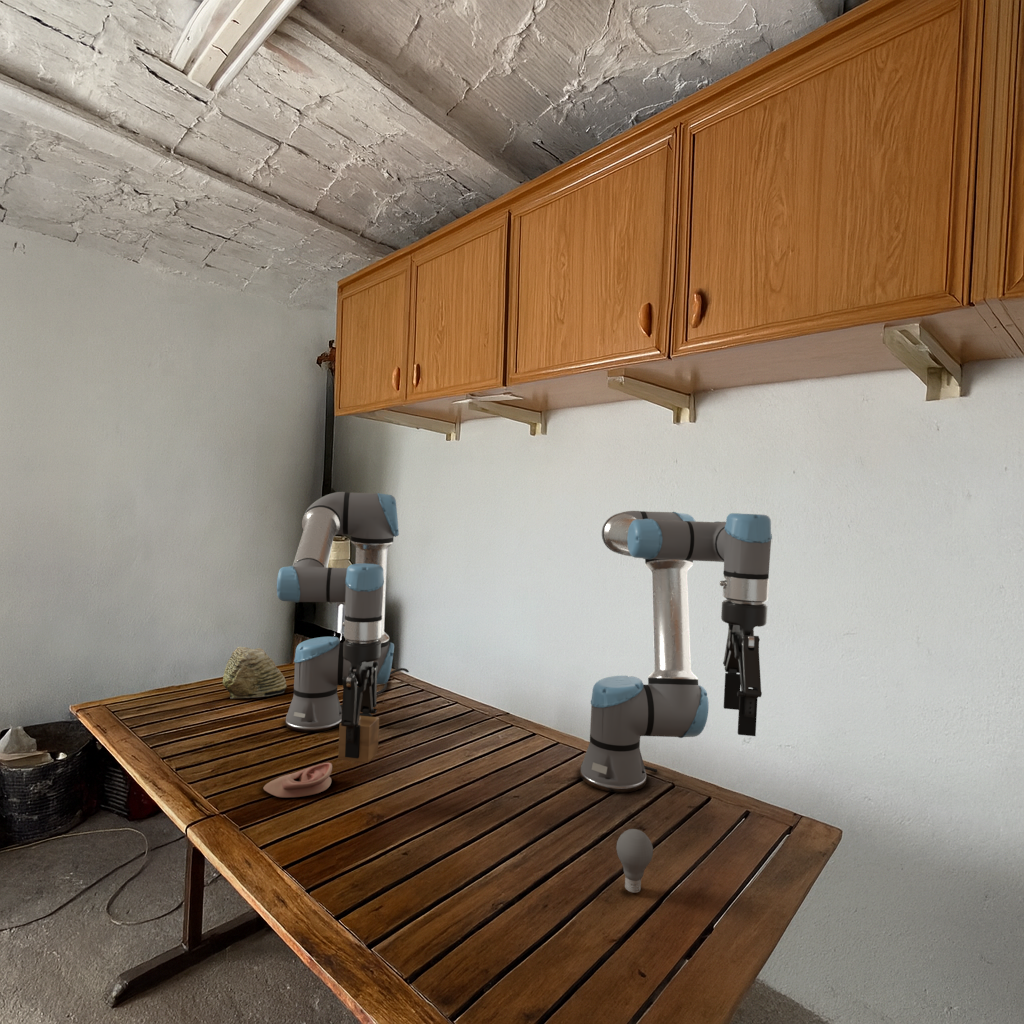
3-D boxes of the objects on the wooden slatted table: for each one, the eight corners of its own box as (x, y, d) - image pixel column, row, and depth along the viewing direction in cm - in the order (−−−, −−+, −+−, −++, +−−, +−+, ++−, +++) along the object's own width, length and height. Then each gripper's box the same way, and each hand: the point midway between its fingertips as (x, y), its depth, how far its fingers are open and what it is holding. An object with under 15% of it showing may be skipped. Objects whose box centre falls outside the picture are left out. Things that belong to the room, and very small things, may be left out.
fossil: (218, 695, 195) (220, 647, 195) (278, 685, 208) (279, 640, 207) (228, 703, 189) (230, 653, 188) (289, 692, 201) (290, 645, 201)
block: (349, 748, 134) (350, 714, 134) (378, 751, 133) (379, 717, 133) (338, 759, 129) (339, 723, 128) (368, 762, 128) (369, 726, 127)
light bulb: (610, 879, 108) (613, 822, 108) (644, 879, 109) (647, 822, 109) (619, 902, 102) (622, 840, 102) (655, 901, 103) (658, 840, 103)
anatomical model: (255, 775, 133) (285, 754, 145) (254, 793, 133) (285, 771, 145) (313, 783, 131) (339, 761, 142) (312, 802, 131) (338, 779, 142)
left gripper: (362, 628, 140) (358, 732, 141) (325, 648, 122) (321, 767, 122) (394, 631, 139) (390, 735, 140) (362, 651, 120) (358, 772, 121)
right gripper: (711, 590, 124) (706, 697, 125) (735, 611, 100) (729, 745, 100) (751, 592, 123) (746, 701, 123) (786, 614, 98) (779, 750, 99)
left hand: (358, 750), depth 131 cm, fingers closed on block, 6 cm apart
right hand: (738, 721), depth 112 cm, fingers open, 13 cm apart
